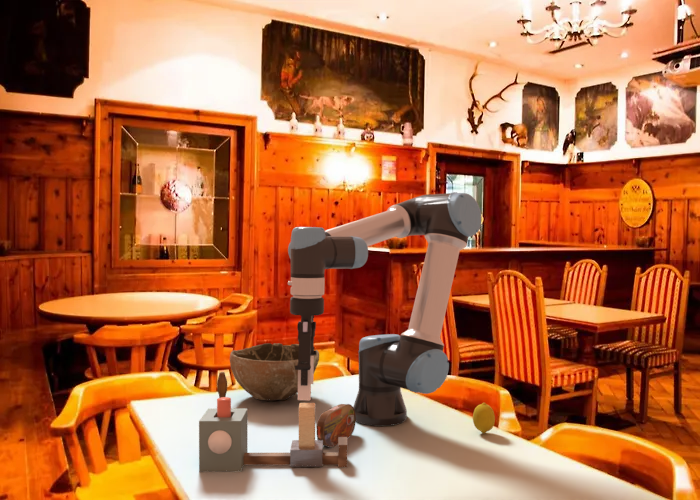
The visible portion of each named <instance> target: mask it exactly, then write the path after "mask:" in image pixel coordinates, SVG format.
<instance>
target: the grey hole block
mask: <svg viewBox="0 0 700 500" xmlns="http://www.w3.org/2000/svg"><path fill="white" fill-rule="evenodd" d="M245 453H248V408H247V407H246V408H245V407H244V408H240V407H239V408H233V407H232V408H231V417H217V408H207V410H206V411H205V413H203V415H202V416H201V418H200V419H199V420H198V454H199V455H198V471H199V472H205V473H207V472H219V473H220V472H242V471H243V468H244V466H245V465H244V454H245Z"/></svg>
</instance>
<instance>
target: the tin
mask: <svg viewBox="0 0 700 500" xmlns="http://www.w3.org/2000/svg"><path fill="white" fill-rule="evenodd" d="M353 406H354V405H352V404H349V403H339V404H338V405H335V406H333V407H332V408H330V409H327V410H326V411H324V412H322V413H321V414H320V415H319V417H318V419H317V421H316V425H315V428H316V437H317V438H316V440H323V447H329V448H334V447H336V446H338V437H347V439H349V438H350V437H351V436H352V435H353V433H354V431H355V427H356V422H357V421H356V414H355V410H354V408H353Z"/></svg>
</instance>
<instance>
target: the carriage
mask: <svg viewBox="0 0 700 500" xmlns="http://www.w3.org/2000/svg"><path fill="white" fill-rule="evenodd" d="M323 452H324V446H323V440H317V439H316V403H315V402H299V405H298V440H297V439H292V441H291V445H290V450H289V453H290V465H289V467H309V468H310V467H323V465H322V456H323Z"/></svg>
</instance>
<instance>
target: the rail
mask: <svg viewBox="0 0 700 500" xmlns="http://www.w3.org/2000/svg"><path fill="white" fill-rule="evenodd" d="M323 465H324V466H325V465H326V466H327V465H328V466H332V465H333V466H334V465H335V466H336V465H337V468H348V438H347V437H338V444H337V452H330V451H329V452H326V451H325V452H324V451H323V456H322V466H323ZM243 466H290V452H247V453H245V454H244V465H243Z"/></svg>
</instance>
